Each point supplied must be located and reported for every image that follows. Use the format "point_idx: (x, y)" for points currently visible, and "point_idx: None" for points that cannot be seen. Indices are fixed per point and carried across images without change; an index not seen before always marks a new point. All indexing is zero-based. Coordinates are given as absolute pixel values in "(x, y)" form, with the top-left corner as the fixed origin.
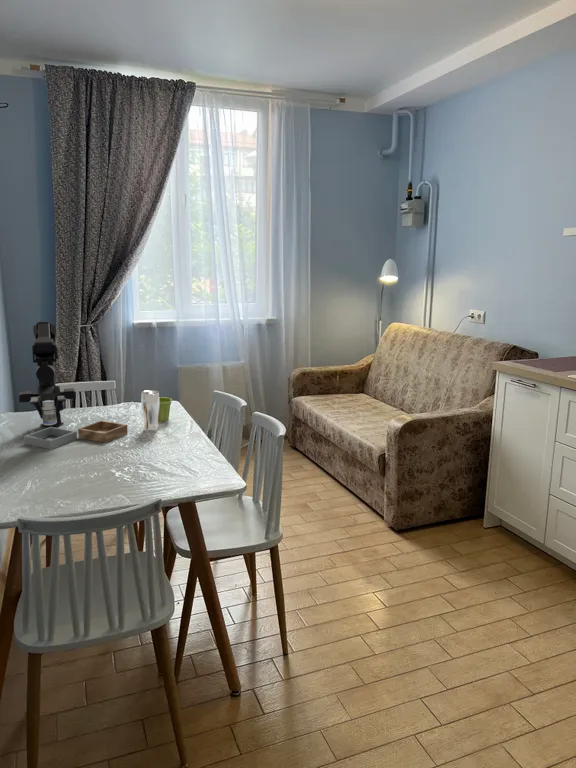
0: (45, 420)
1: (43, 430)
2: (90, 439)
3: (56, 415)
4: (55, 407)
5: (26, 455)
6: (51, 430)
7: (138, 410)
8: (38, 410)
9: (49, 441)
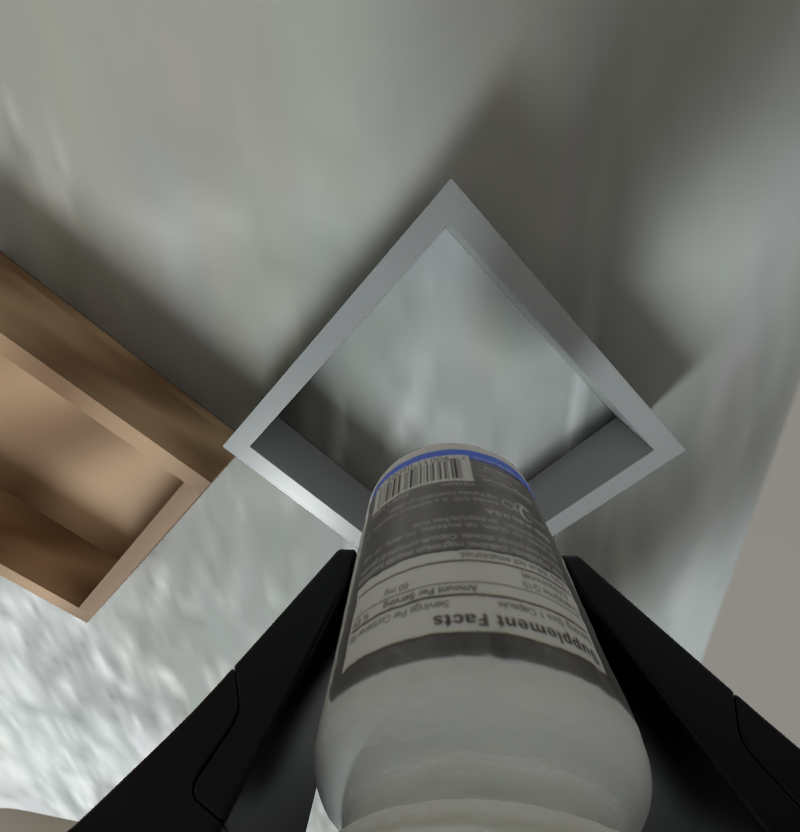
0: (519, 493)
1: None
2: (141, 363)
3: (345, 573)
4: (314, 749)
5: (706, 26)
6: None
7: (38, 755)
8: (733, 706)
9: (461, 193)
